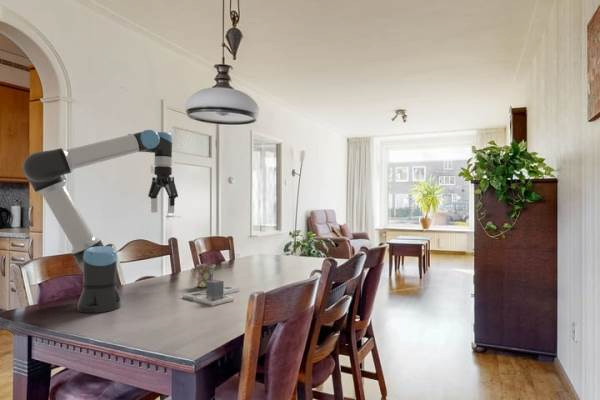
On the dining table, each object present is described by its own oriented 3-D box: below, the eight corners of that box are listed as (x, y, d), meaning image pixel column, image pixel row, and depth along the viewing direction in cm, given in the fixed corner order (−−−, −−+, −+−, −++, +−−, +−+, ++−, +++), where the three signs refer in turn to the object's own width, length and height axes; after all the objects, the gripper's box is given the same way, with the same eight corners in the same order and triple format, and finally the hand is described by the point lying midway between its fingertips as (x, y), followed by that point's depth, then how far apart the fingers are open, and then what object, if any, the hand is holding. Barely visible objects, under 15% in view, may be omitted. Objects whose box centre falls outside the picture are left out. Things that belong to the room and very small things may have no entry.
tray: (212, 305, 162) (213, 301, 162) (196, 301, 169) (196, 297, 169) (233, 300, 171) (233, 297, 171) (216, 296, 178) (216, 293, 178)
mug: (217, 284, 203) (217, 263, 204) (213, 288, 194) (213, 266, 194) (193, 284, 203) (193, 263, 204) (188, 288, 194) (188, 266, 194)
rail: (193, 301, 169) (193, 297, 169) (182, 298, 174) (182, 294, 174) (239, 291, 190) (239, 287, 190) (228, 288, 195) (228, 285, 195)
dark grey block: (214, 302, 166) (214, 282, 166) (206, 300, 169) (206, 281, 170) (223, 300, 170) (223, 281, 170) (215, 298, 173) (215, 279, 173)
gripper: (186, 165, 178) (185, 213, 178) (155, 168, 194) (154, 212, 194) (171, 164, 173) (170, 213, 172) (141, 167, 188) (140, 212, 188)
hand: (162, 212), depth 183 cm, fingers open, 13 cm apart
